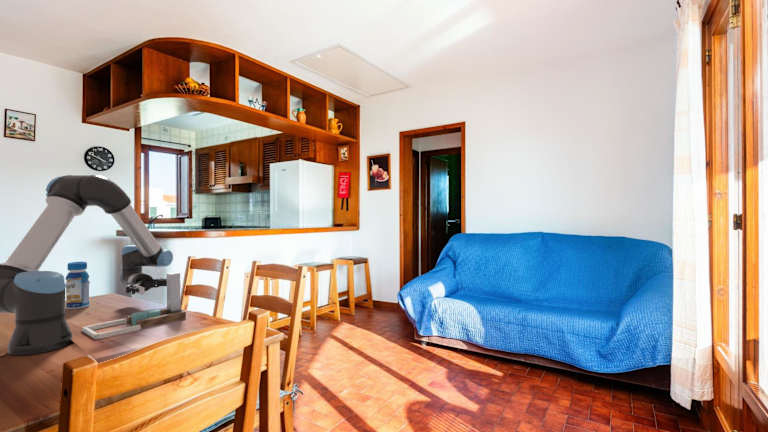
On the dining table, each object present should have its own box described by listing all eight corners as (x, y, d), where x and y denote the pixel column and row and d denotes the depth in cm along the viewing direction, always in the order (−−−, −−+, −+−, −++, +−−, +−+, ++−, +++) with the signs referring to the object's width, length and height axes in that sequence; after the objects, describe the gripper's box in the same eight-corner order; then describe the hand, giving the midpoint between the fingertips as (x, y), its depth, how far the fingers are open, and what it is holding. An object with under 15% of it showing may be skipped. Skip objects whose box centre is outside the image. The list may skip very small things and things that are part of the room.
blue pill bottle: (93, 306, 170) (92, 262, 170) (70, 310, 163) (69, 264, 163) (85, 304, 174) (84, 260, 174) (62, 308, 167) (61, 262, 167)
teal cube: (136, 326, 135) (135, 315, 135) (131, 324, 137) (131, 313, 137) (148, 323, 138) (148, 313, 138) (143, 322, 140) (143, 311, 140)
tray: (95, 344, 121) (95, 334, 121) (81, 335, 130) (81, 327, 129) (140, 333, 131) (140, 325, 131) (125, 326, 140) (125, 318, 140)
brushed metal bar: (172, 319, 144) (171, 274, 143) (165, 316, 147) (165, 273, 147) (181, 317, 146) (181, 273, 146) (175, 314, 150) (174, 272, 150)
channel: (139, 332, 132) (138, 321, 132) (127, 327, 139) (126, 316, 139) (185, 322, 145) (185, 311, 145) (172, 317, 152) (172, 307, 152)
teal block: (149, 323, 138) (148, 312, 138) (144, 321, 140) (144, 311, 140) (160, 321, 141) (160, 310, 141) (156, 319, 144) (156, 308, 144)
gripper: (171, 285, 176) (193, 291, 163) (107, 295, 156) (126, 303, 143) (170, 269, 176) (193, 274, 163) (106, 277, 156) (126, 283, 143)
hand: (162, 288), depth 153 cm, fingers open, 13 cm apart
